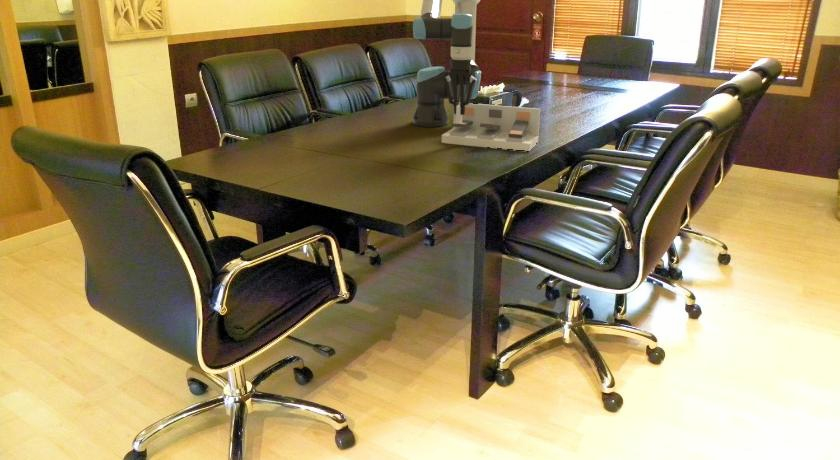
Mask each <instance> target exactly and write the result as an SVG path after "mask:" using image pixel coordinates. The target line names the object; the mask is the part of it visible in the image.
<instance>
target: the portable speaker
mask: <svg viewBox="0 0 840 460" xmlns="http://www.w3.org/2000/svg"><path fill="white" fill-rule="evenodd" d="M502 88H503V91H504V92H512V91H513V92H512V93H515V94H513V99H512V101H513V102H512V105H513V107H521V104H522V100H523V94H522V91H521V90H520V89H519V88H517V87H502Z"/></svg>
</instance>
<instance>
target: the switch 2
mask: <svg viewBox="0 0 840 460" xmlns="http://www.w3.org/2000/svg"><path fill="white" fill-rule="evenodd" d="M480 127H485V128H494V129H500V126H498V125H494V124H487V123H480Z"/></svg>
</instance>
